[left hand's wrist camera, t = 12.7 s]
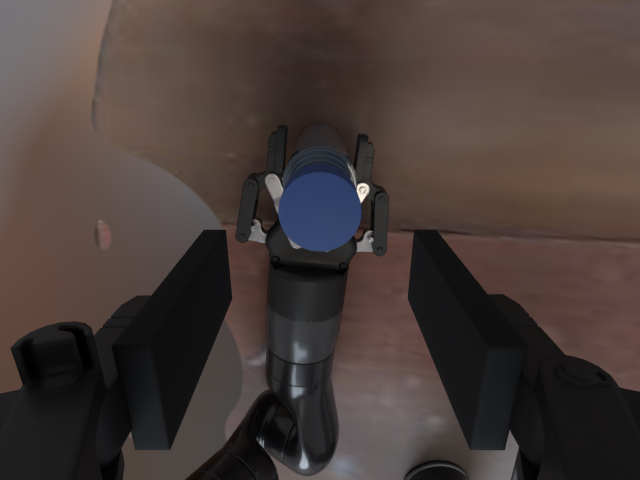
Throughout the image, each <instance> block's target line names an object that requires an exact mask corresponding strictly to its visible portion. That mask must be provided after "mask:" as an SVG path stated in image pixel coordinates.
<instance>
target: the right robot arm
mask: <svg viewBox="0 0 640 480" xmlns="http://www.w3.org/2000/svg"><path fill="white" fill-rule="evenodd" d="M287 130H288V126H285V125H279V126H278V128H277V132H274V131H273V132H272V133H271V135H270V137H269V140H268V159H267V170H265V171H264V172H260V173H252V174H250V175H249V177H248V179H246V181H245V182H244V186H243V192H242V198H241V205H240V211H239V217H238V224H237V230H236V239H237V241H238V242H240V243H245V242H247V241H248V240H252V241H257V242H262V243H265V244H266V246H267V248H268V250H269V254H270V262H269V278H268V294H267V311H266V331H267V350H266V366H265V376H266V382H267V385H268V387H269V389H268V390H265V391H264V392H262V393H261V394H260V395H259V396H258V397H257V398H256V400H255V401H254V402H253V404H252V406H251V407H250V409H249V410H248V412H247V414H246V415H245V417H244V418H243V420H242V421H241V423H240V424H239V426H238V427H237V428H236V430H235V431H234V433H233V434H232V435H231V437H230V438H229V439H228V441H227V442H226V443H225V445H224V446H223V447H222V448H221V449H220V450H219V451H218V452H216V453H215V454H214V455H213V456H212V457H211V458H210V459H208V460H207V461H206V462H205V463H204V464H203V465H202V466H200V467H199V468H198V469H197V470H196V471H195V472H193V473H192V474H191V475H190V476H189V477H188V478H187V479H185V480H279V477H278V472H277V469H276V467H275V465H274V463H273V461H272V459H271V458H270V456H272V457H273V458H275V459H276V460H278V461H279V462H280V463H282V464H283V465H285V466H286V467H288V468H289V469H291V470H292V471H294V472H295V473H297V474H300V475H303V476H312V475H315V474H317V473H319V472H321V471H322V470H323V469H325V468H326V466H327V465H328V464H329V463H330V461H331V460H332V458H333V455H334V453H335V450H336V447H337V442H338V434H339V423H338V415H337V409H336V403H335V398H334V392H333V386H332V381H331V370H332V363H333V356H334V349H335V344H336V340H337V337H338V334H339V330H340V324H341V317H342V310H343V303H344V296H345V289H346V282H347V276H348V269H349V263H350V260H351V259H352V257H353V256H354V255H355V253H356V252H374V254H375V255H376V256H383V255H384V254H385V253H386V250H387V229H388V209H389V197H388V195H387V193H386V191H385V190H384V188H383V187H381V186H377V185H375V184H373V183H372V182H371V181H370V178H371V171H372V164H373V157H374V151H375V150H374V146H373V144H372V143H371V142H368V136H367V135H366V134H358V138H357V145H356V152H355V160H354V169H355V171H356V175H357V193H358V196H359V199H360V202H361V203H362V202H363V200H364V199H365V198H367V199H369V200H371V227H370V228H366V229H365V230H364V231H363V235H362V236H361V238H359V239H355V237H354V235H353V237H352V238H351V239H350V240H349V241H347V242H346V243H345V244H343V245H342V246H340V247H338V248H336V249H333V250H328V251H311V250H307V249H304V248H302V247H300V246H298V245H297V244H295V243H294V242H293V241H291V240H290V239H289V238H288V237H287V235H286V234H285V233H284V231H283V229H282V227H281V224H280V221H279V219H278V220H277V221H276V222H275V224H274V225H273V226H272V227H271V228H270V229H269V230H268V231H267V230H265V229H264V228H263V226H262V220H261V219H260V218H259V217H257V216H256V210H257V204H258V198H259V193H260V190H261V189H265V188H268V190H269V192H270V194H271V197H272V199H273V202H274V206H275V209H276V211H277V213H278V207H279V202H280V199H281V196H282V193H283V175H282V173H283V171H284V169H285V158H286V144H287ZM268 454H269V455H270V456H269V455H268ZM405 480H469V479H468V476H467V474H466V473H465V471H464V470H463V469H461V468H460V467H459V466H457V465H455V464H452V463H448V462H430V463H426V464H423V465H421V466H418V467H417V468H415V469H414V470H412V471H411V472H410V473H409V474H408V475H407V477H406V478H405Z"/></svg>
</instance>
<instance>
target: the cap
mask: <svg viewBox="0 0 640 480" xmlns="http://www.w3.org/2000/svg"><path fill="white" fill-rule="evenodd" d="M278 215H279V221H280V224H281V227H282V229H283V231H284V233H285V234H286V235H287V237H288V238H289V239H290V240H291V241H293V242H294V243H295V244H297V245H298V246H300V247H302V248H304V249H307V250H311V251H328V250H333V249H336V248H338V247H340V246H342V245H343V244H345V243H346V242H347V241H349V240H350V239H351V238H352V237H353V235H354V234H355V232H356V231H357V229H358V227H359V224H360V221H361V215H362V207H361V202H360V199H359V196H358V193H357V190H356V187H355V185H354V183H353V181H352V180H351V178H350V177H349V176H348V175H347V174H346V173H345V172H343V171H342V170H340V169H339V168H337V167H334V166H331V165H327V164H313V165H309V166H306V167H303V168H301V169H300V170H298V171H297V172H295V173H294V174H293V175H292V176H291V177H290V179H289V180H288V181H287V183H286V185H285V187H284V190H283V193H282V196H281V199H280V202H279V207H278Z"/></svg>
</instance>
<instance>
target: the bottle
mask: <svg viewBox="0 0 640 480" xmlns="http://www.w3.org/2000/svg"><path fill="white" fill-rule="evenodd" d="M313 164H327V165H331V166H334V167H337V168H339V169H340V170H342V171H343V172H345V173H346V174H347V175H348V176H349V177H350V178H351V180H352V181H353V183H354V185H355V187H356V190H357V175H356V171H355V169H354V166H353V164H352V161H351V159H350V156H349V154H348V152H347V149H346V147H345V144H344V142H343V139H342V137H341V135H340V134H339V133H338V131H337V130H335V129H334V128H333V127H331V126H329V125H326V124H314V125H311V126H309V127H307V128H306V129H305V130H303V131H302V133H301V134H300V135H299V137H298V139H297V142H296V144H295V147H294V149H293V152H292V154H291V156H290V159H289V161H288V164H287V166H286V169H285V171H284V175H283V190H284V187H285V185H286V183H287V181H288V180H289V179H290V177H291V176H292V175H293V174H294V173H295V172H297V171H298V170H300V169H301V168H303V167H306V166H309V165H313Z"/></svg>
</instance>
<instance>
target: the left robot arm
mask: <svg viewBox="0 0 640 480" xmlns="http://www.w3.org/2000/svg"><path fill="white" fill-rule="evenodd" d="M231 300H232V292H231V281H230V270H229V259H228V248H227V238H226V230H203V232H202V233H201V234H200V235H199V237H198V238H197V239H196V240H195V242H194V243H193V244H192V246H191V247H190V248H189V249H188V250H187V252H186V253H185V254H184V256H183V257H182V258H181V259H180V260H179V262H178V263H177V264H176V266H175V267H174V268H173V269H172V271H171V272H170V273H169V274H168V276H167V277H166V278H165V279H164V281H163V282H162V283H161V284H160V286H159V287H158V288H157V289H156V291H155V292H154V293H153V294H152V296H136V297H134V298H133V299H131V300H129V301H128V302H126V303H124V304H123V305H121V306H120V307H119V308H118V309H117V311H116V312H115V313H114V314H113V315H112V316H111V319H108V321H107V322H106V323H105V324H104V325H103V328H100V329H99V331H98V332H97V333H96V334H95V335H94V336H93V332H92V328H91V327H90V326H88V325H87V324H86V323H81V322H75V321H73V322H61V323H56V324H52V325H48V326H45V327H42V328H40V329H37V330H35V331H33V332H30V333H29V334H27V335H26V336H24V337H22V338H21V339H19V340H18V341H17V342H16V343H15V344H14V345H13V346H12V347H11V351H12V354H13V357H14V360H15V363H16V366H17V369H18V371H19V374H20V377H21V380H22V383H23V385H22V387H21V389H20V390H16V391H11V392H6V393H1V394H0V480H123V472H124V458H123V454H122V449H121V448H122V446H123V444H124V442H125V440H126V439H127V437H128V435H129V433H130V431H131V433H132V438H133V442H134V446H135V450H170V449H171V446H172V444H173V442H174V439H175V437H176V434H177V432H178V429H179V427H180V425H181V422H182V420H183V417H184V415H185V412H186V410H187V407H188V405H189V403H190V400H191V398H192V395H193V393H194V390H195V388H196V385H197V383H198V381H199V378H200V376H201V373H202V371H203V368H204V366H205V364H206V361H207V359H208V356H209V354H210V351H211V349H212V347H213V344H214V342H215V339H216V337H217V334H218V332H219V329H220V327H221V325H222V322H223V320H224V317H225V315H226V312H227V310H228V308H229V305H230V303H231ZM408 300H409V303H410V305H411V308H412V310H413V312H414V315H415V317H416V320H417V322H418V325H419V327H420V330H421V332H422V334H423V337H424V339H425V342H426V344H427V347H428V349H429V351H430V354H431V356H432V359H433V361H434V364H435V366H436V369H437V371H438V373H439V376H440V378H441V381H442V383H443V386H444V388H445V390H446V393H447V395H448V398H449V400H450V403H451V405H452V408H453V410H454V412H455V415H456V417H457V420H458V422H459V425H460V427H461V429H462V432H463V434H464V437H465V439H466V442H467V444H468V446H469V449H470V450H505V446H506V442H507V438H508V433H509V429H510V431H511V433H512V435H513V436H514V438H515V440H516V442H517V444H518V445H519V449H518V453H517V457H516V461H515V466H514V470H513V474H512V478H511V480H640V392H638V391H633V390H628V389H623V388H620V387H618V385H617V383H616V382H615V381H614V379H613V378H612V377H611V376H610V374H608V373H607V372H605V371H604V370H603V369H601V368H600V367H598V366H596V365H594V364H592V363H590V362H588V361H586V360H583V359H580V358H576V357H573V356H567V355H565V354H564V353H563V352H562V351H561V350H560V349H559V347H558V346H557V345H556V344H555V343H554V342H553V341H552V340H551V339H550V338H549V336H548V335H547V334H546V333H545V332H544V331H543V330H542V329H541V328H540V327H538V326H537V323H536V322H535V321H534V320H533V319H532V318H531V317H529V314H528V313H527V312H526V311H525V310H524V309H523V308H522V307H521V306H520V304H518V303H517V302H515V301H513V300H512V299H510V298H508V297H507V296H505V295H503V294H487V293H486V292H485V291H484V289H483V288H482V287H481V286H480V284H479V283H478V282H477V281H476V279H475V278H474V277H473V276H472V274H471V273H470V272H469V271H468V269H467V268H466V267H465V265H464V264H463V263H462V262H461V260H460V259H459V258H458V257H457V255H456V254H455V253H454V252H453V250H452V249H451V248H450V247H449V245H448V244H447V243H446V242H445V240H444V239H443V238H442V237H441V235H440V234H439V233H438V232H437V230H414V238H413V248H412V259H411V270H410V281H409V292H408Z"/></svg>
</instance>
